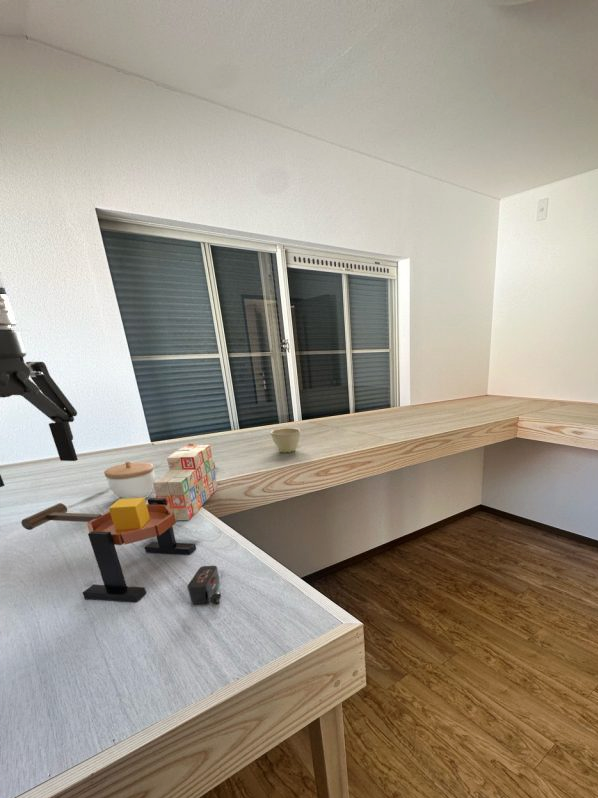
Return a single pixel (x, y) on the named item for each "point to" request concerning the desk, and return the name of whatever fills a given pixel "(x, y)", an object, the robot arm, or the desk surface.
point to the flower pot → (286, 439)
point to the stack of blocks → (187, 480)
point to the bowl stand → (112, 568)
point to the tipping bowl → (108, 522)
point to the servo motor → (204, 586)
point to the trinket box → (131, 479)
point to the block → (129, 513)
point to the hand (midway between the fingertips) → (35, 472)
